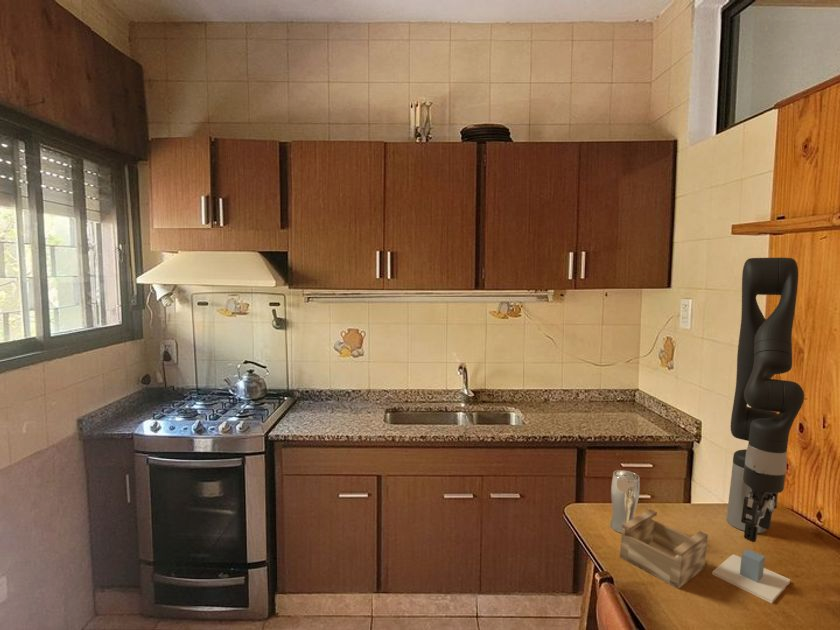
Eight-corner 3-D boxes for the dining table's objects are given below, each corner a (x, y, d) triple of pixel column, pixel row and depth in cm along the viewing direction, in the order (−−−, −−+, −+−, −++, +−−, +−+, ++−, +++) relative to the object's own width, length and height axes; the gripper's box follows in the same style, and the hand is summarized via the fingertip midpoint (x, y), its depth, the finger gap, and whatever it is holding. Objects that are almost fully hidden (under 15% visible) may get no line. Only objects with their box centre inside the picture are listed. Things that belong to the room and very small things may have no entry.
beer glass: (640, 528, 131) (644, 475, 130) (629, 538, 127) (634, 483, 125) (614, 518, 136) (619, 467, 135) (603, 527, 132) (608, 474, 130)
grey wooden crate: (647, 539, 126) (649, 509, 125) (704, 567, 115) (707, 534, 114) (619, 557, 118) (622, 524, 117) (678, 588, 107) (681, 553, 106)
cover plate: (732, 558, 120) (735, 535, 120) (789, 584, 111) (793, 559, 110) (711, 576, 113) (714, 551, 112) (771, 605, 104) (774, 578, 103)
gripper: (757, 453, 116) (750, 516, 118) (733, 468, 107) (726, 536, 109) (795, 464, 110) (787, 531, 112) (773, 481, 101) (764, 553, 103)
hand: (757, 533), depth 111 cm, fingers open, 8 cm apart
